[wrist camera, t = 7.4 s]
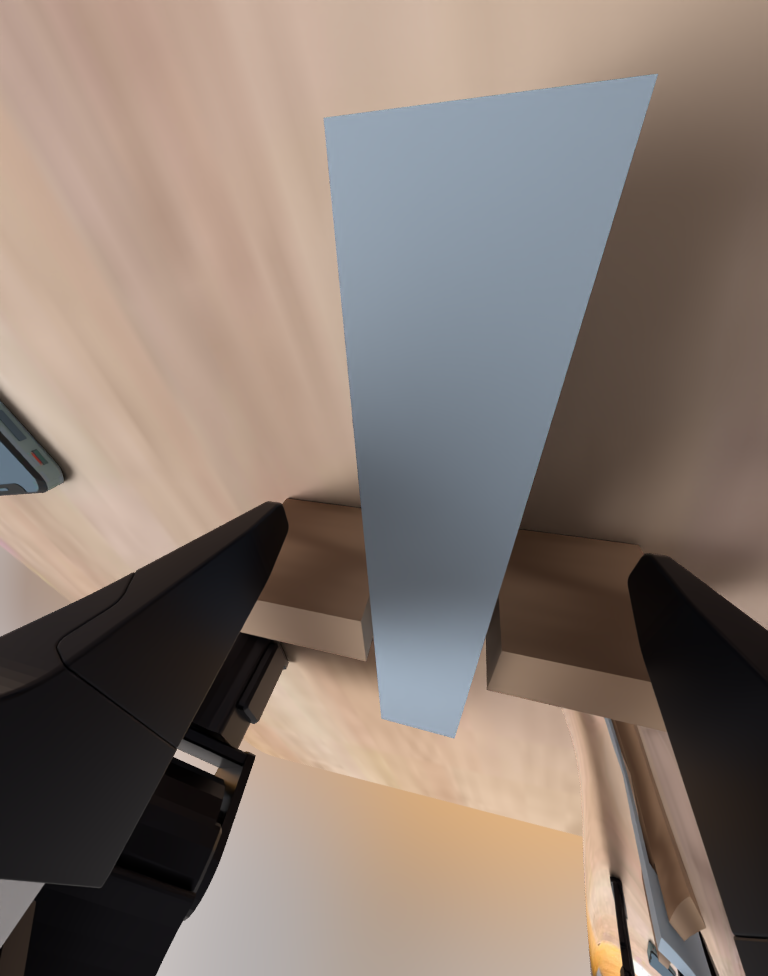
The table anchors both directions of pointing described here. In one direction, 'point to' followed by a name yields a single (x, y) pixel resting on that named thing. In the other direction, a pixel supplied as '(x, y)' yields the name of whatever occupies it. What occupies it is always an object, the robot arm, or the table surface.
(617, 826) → the beer glass
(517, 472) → the pale blue upright post
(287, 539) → the tan wooden plank
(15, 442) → the smartphone
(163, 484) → the table surface
